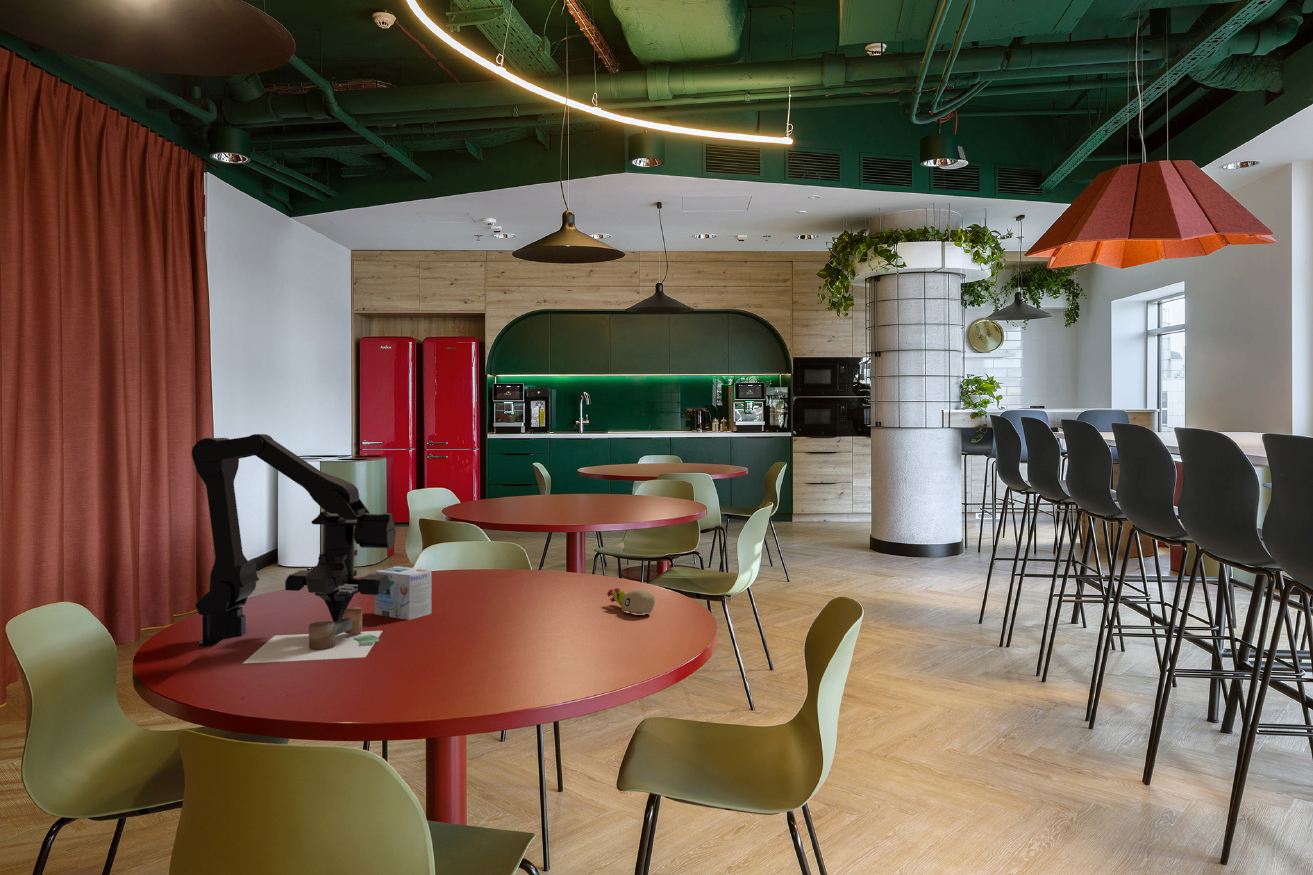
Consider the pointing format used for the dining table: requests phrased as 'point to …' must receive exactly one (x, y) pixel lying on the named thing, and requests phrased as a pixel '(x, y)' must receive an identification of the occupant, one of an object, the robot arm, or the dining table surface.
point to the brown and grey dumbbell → (334, 629)
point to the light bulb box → (405, 593)
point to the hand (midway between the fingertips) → (337, 625)
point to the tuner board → (299, 650)
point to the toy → (633, 600)
